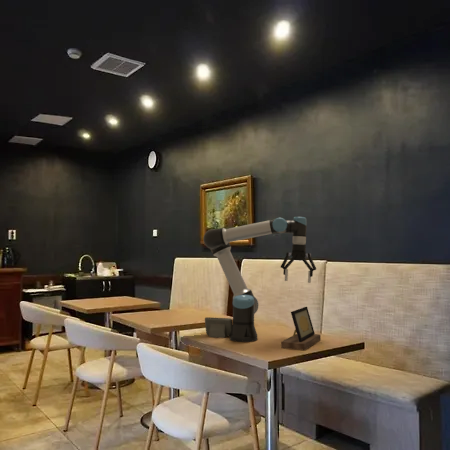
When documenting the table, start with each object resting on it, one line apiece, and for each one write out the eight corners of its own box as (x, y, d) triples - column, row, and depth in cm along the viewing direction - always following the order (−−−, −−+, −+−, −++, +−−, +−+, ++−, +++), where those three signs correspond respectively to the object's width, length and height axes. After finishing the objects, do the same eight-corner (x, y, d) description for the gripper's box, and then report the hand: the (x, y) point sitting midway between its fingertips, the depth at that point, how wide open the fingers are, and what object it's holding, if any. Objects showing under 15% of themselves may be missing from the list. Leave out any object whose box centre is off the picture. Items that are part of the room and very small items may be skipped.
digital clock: (234, 336, 246) (234, 317, 247) (227, 339, 238) (227, 319, 239) (209, 333, 254) (209, 315, 254) (202, 336, 246) (202, 317, 246)
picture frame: (301, 341, 216) (298, 311, 217) (284, 342, 220) (281, 312, 221) (315, 334, 236) (311, 306, 238) (299, 334, 240) (295, 307, 242)
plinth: (281, 347, 217) (281, 341, 217) (299, 338, 241) (299, 332, 242) (304, 350, 211) (304, 344, 211) (320, 340, 236) (320, 334, 236)
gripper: (322, 245, 245) (321, 283, 244) (280, 243, 257) (279, 279, 255) (319, 244, 238) (317, 283, 237) (276, 243, 250) (274, 280, 249)
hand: (297, 281), depth 246 cm, fingers open, 13 cm apart
